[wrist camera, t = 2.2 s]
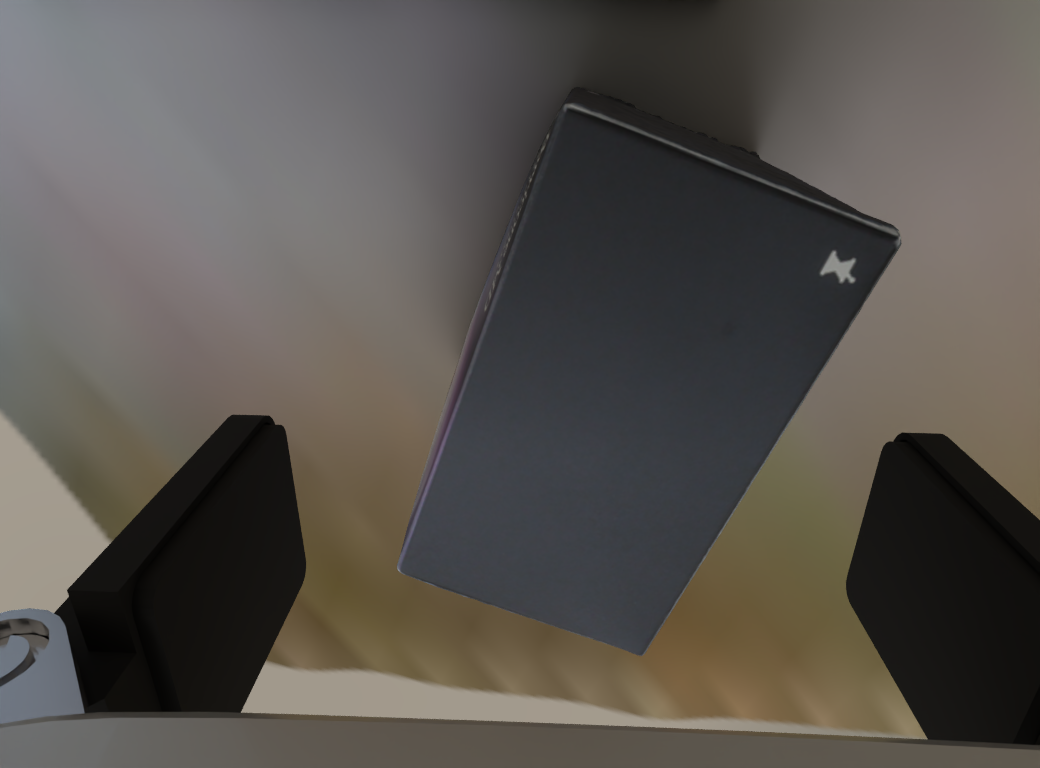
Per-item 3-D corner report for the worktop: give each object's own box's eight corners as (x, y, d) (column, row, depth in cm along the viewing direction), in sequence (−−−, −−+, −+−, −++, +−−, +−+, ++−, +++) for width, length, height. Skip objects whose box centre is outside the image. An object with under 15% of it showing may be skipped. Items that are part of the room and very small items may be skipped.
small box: (560, 74, 20) (552, 76, 10) (763, 155, 20) (934, 228, 11) (454, 379, 24) (379, 580, 15) (622, 438, 25) (655, 669, 15)
